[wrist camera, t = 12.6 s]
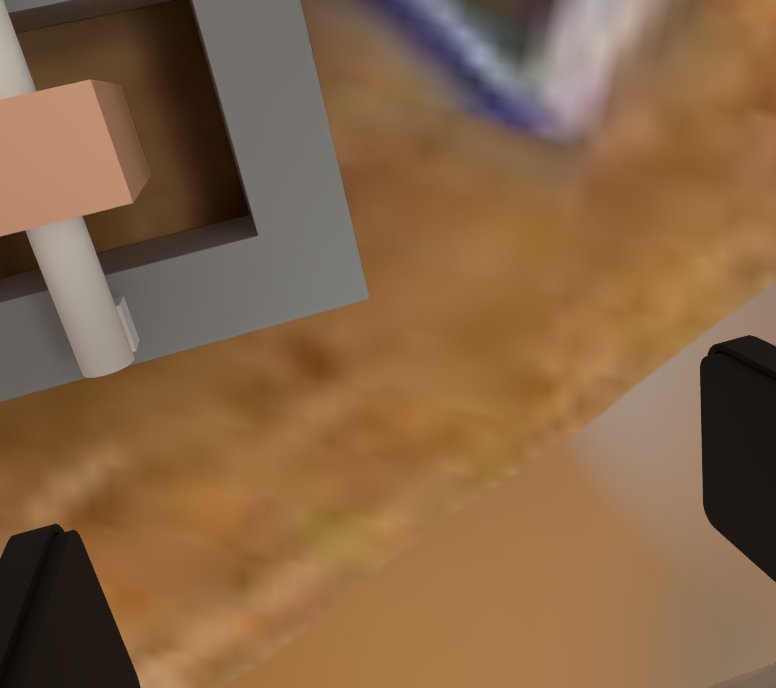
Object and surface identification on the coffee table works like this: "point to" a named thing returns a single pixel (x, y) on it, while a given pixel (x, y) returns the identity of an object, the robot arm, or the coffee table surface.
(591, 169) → the coffee table surface
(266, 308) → the grey rectangular frame
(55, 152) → the clip
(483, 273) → the coffee table surface
